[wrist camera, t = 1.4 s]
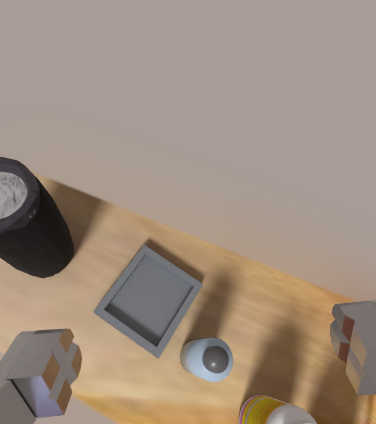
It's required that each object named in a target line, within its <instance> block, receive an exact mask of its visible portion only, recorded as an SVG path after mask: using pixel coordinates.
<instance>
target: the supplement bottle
mask: <svg viewBox="0 0 376 424" xmlns="http://www.w3.org/2000/svg"><path fill="white" fill-rule="evenodd" d="M239 424H317V423H316V421H315V420H314V418H313V417H312V416H311V415H310V414H309V413H308V412H307V411H305V410H304V409H302V408H300V407H298V406H295V405H292V404H289V403H286V402H283V401H280V400H277V399H275V398H272V397H269V396H266V395H255V396H253V397H251V398H249V399H248V400H247V401H246V402H245V403H244V405H243V406H242V409H241V411H240V415H239Z"/></svg>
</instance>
